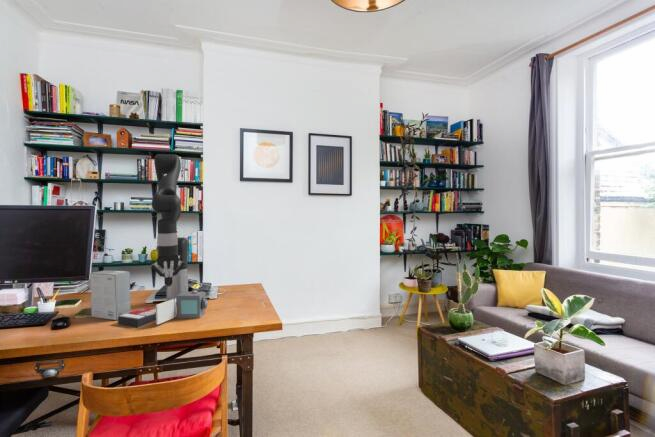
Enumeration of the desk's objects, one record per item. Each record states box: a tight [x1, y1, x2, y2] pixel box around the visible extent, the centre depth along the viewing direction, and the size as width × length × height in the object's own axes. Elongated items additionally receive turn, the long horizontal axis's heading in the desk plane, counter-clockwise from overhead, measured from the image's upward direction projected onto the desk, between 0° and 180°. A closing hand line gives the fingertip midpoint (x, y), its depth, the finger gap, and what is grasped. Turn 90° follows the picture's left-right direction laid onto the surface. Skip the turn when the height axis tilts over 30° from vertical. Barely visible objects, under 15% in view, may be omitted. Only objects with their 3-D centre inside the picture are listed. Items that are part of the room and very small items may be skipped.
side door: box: [155, 299, 175, 325], centre depth 142 cm, size 9×2×8 cm, turn 161°
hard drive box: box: [89, 269, 132, 321], centre depth 151 cm, size 16×8×20 cm, turn 71°
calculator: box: [117, 307, 156, 328], centre depth 146 cm, size 11×4×15 cm
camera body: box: [174, 289, 209, 319], centre depth 151 cm, size 13×8×11 cm, turn 91°
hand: (168, 285), depth 138 cm, fingers closed
